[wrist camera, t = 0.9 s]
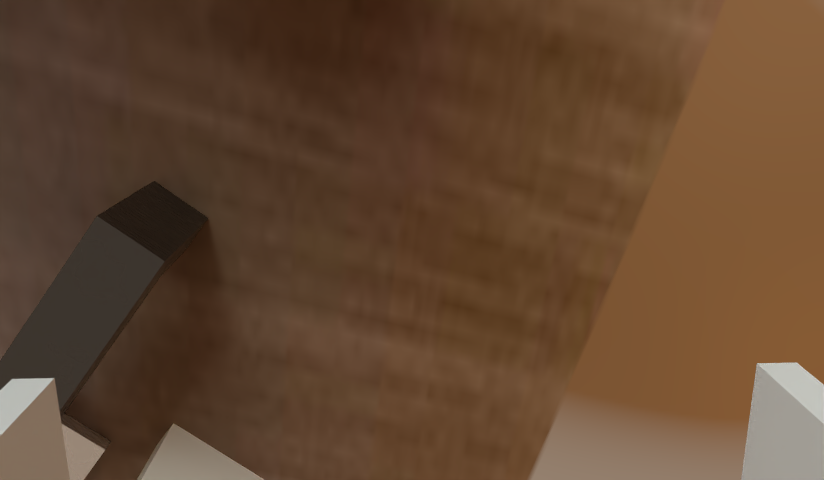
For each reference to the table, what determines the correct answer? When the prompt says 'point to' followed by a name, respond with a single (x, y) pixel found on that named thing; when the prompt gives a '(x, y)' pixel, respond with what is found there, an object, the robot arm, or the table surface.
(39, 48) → the table surface
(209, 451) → the tile
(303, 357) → the table surface
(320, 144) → the table surface
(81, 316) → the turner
